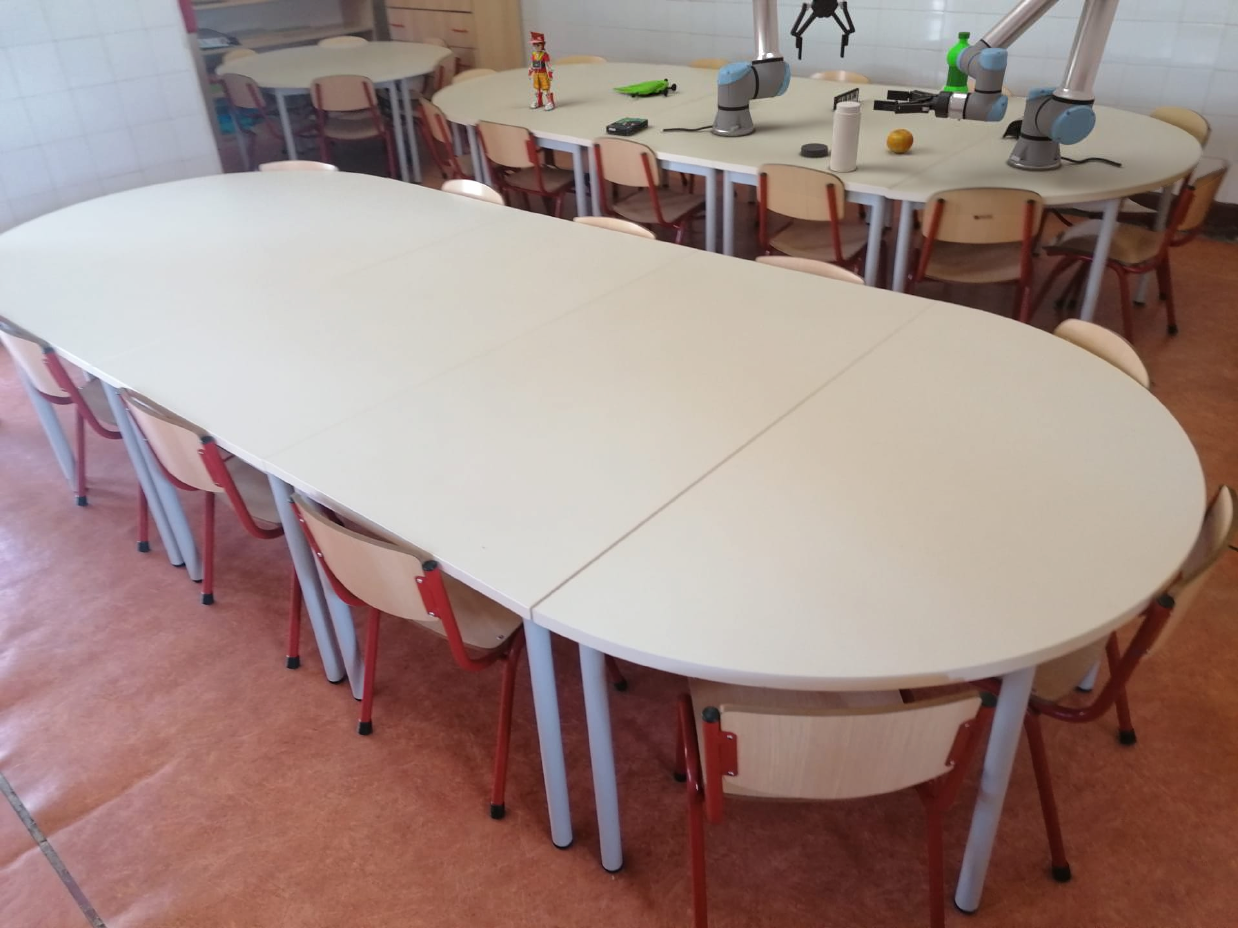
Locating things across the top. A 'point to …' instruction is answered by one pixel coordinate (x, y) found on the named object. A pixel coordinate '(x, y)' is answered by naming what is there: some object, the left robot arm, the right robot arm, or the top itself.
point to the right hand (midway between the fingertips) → (880, 100)
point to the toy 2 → (648, 88)
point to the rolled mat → (1014, 128)
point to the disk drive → (627, 126)
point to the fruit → (900, 140)
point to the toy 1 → (541, 71)
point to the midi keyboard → (846, 97)
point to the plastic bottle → (955, 76)
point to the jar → (845, 136)
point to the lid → (814, 150)
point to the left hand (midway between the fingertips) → (820, 58)
